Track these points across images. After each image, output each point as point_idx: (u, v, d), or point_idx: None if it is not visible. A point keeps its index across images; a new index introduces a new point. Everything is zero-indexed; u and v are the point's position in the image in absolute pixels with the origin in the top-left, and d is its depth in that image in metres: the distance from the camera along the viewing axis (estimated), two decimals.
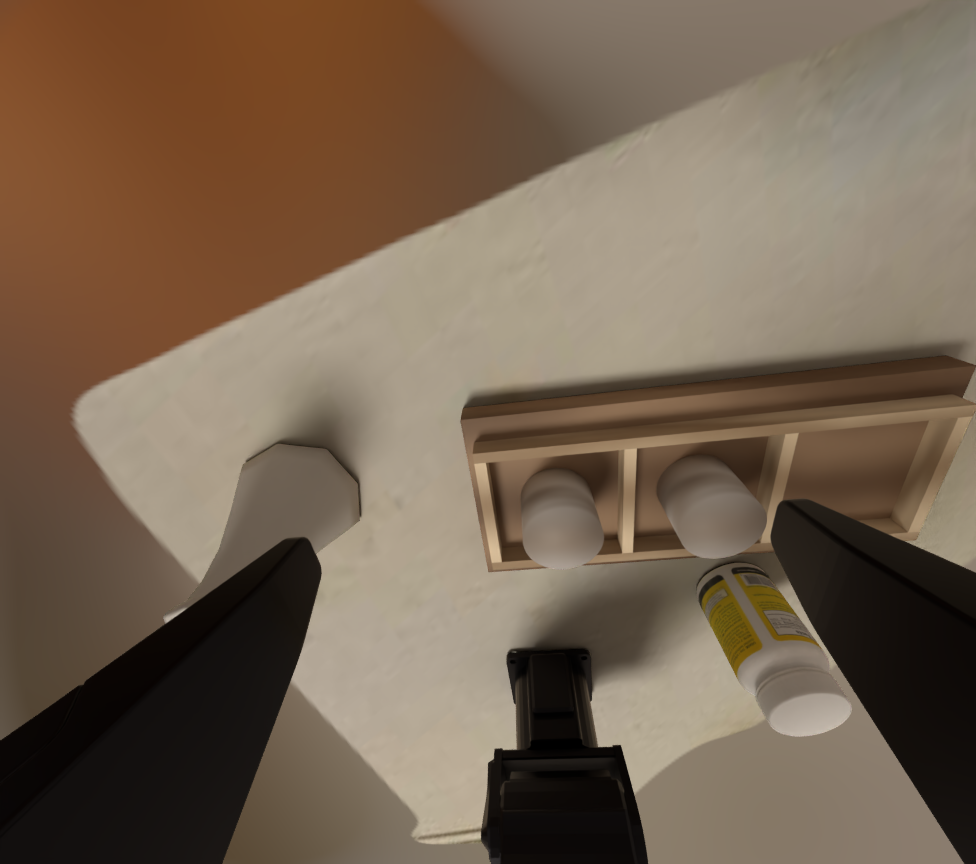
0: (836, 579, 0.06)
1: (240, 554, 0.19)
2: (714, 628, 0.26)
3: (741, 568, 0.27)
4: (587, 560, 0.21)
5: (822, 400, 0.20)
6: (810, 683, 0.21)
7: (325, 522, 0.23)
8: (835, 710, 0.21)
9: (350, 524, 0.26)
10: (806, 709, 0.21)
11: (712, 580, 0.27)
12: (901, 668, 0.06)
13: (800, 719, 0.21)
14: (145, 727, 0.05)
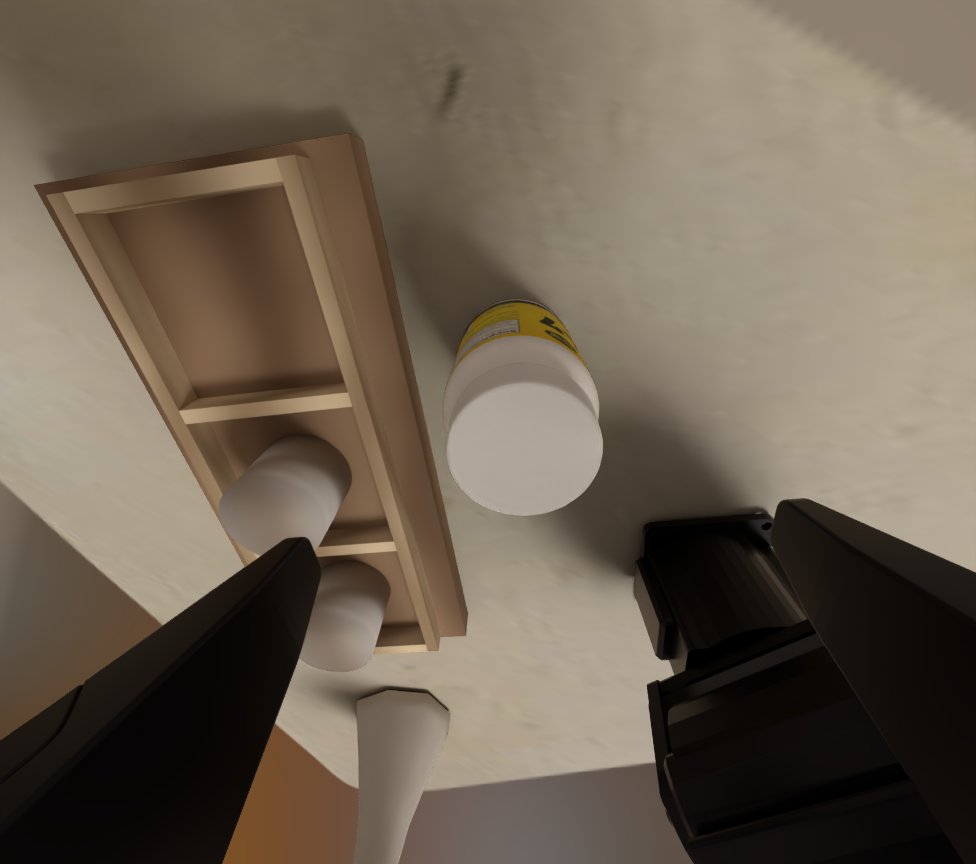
0: (836, 579, 0.06)
1: None
2: None
3: None
4: (354, 628, 0.19)
5: None
6: None
7: (389, 742, 0.28)
8: (502, 417, 0.10)
9: (420, 708, 0.29)
10: (500, 467, 0.11)
11: None
12: (901, 668, 0.06)
13: (537, 467, 0.11)
14: (145, 727, 0.05)
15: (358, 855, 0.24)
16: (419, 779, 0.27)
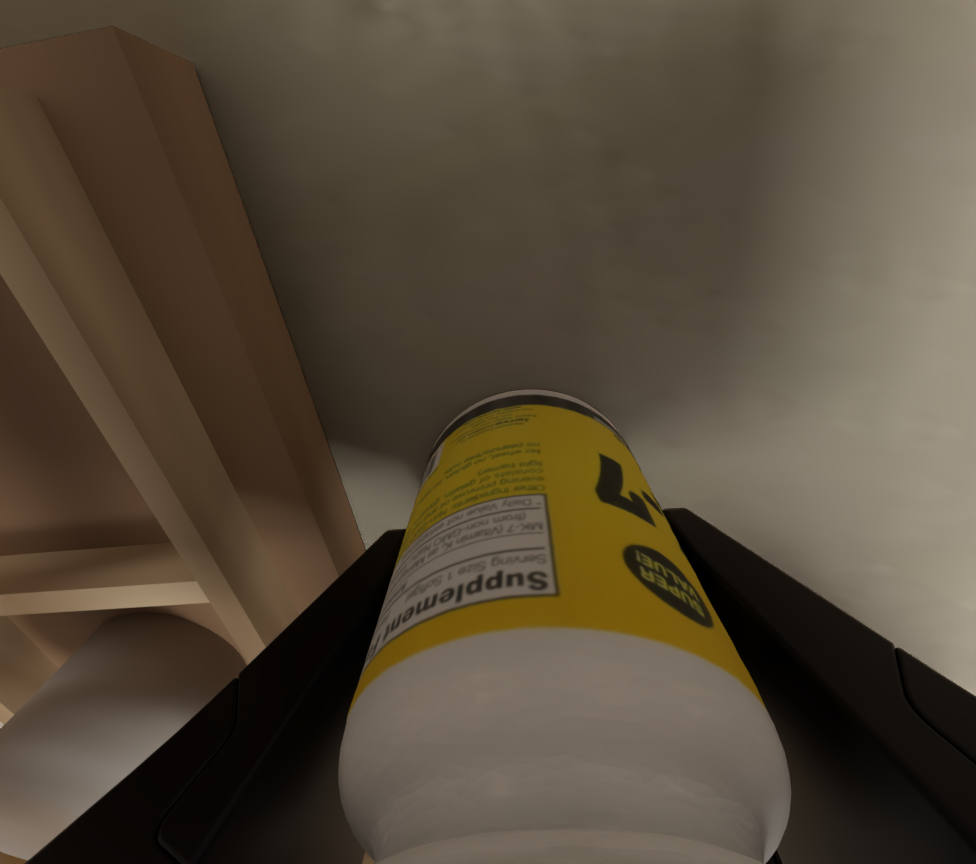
0: None
1: None
2: None
3: None
4: None
5: None
6: None
7: None
8: None
9: None
10: None
11: None
12: None
13: None
14: (307, 721, 0.05)
15: None
16: None
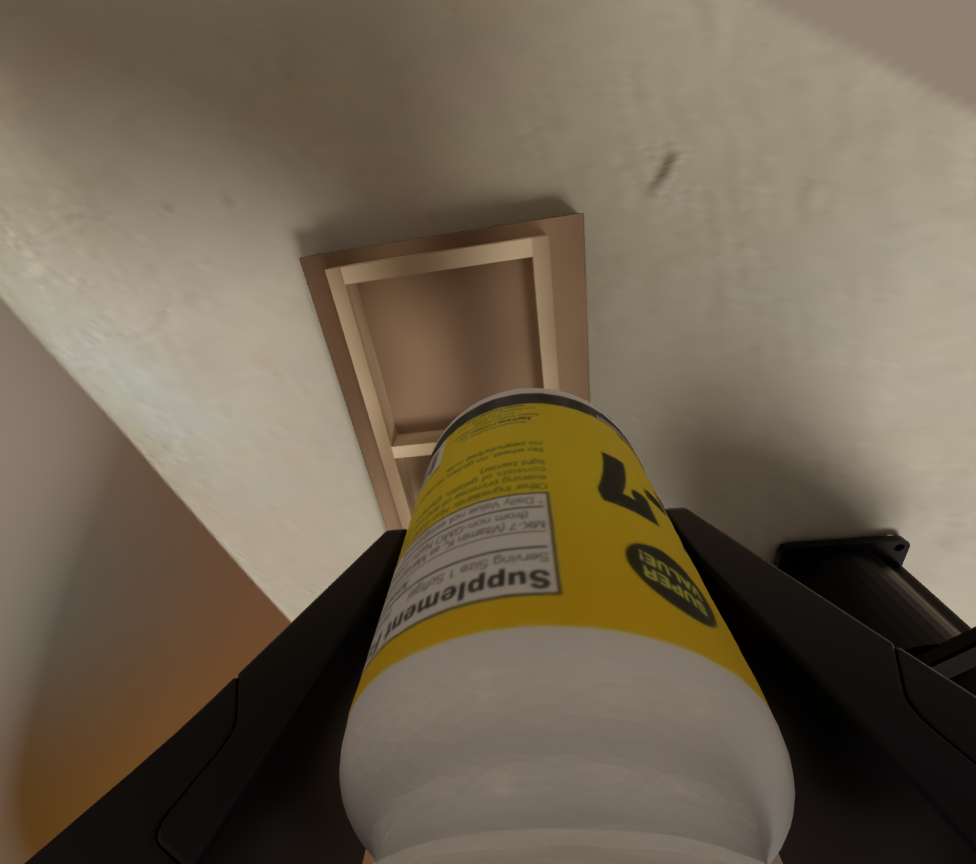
0: None
1: None
2: None
3: None
4: None
5: None
6: None
7: None
8: None
9: None
10: None
11: None
12: None
13: None
14: (306, 721, 0.05)
15: None
16: None
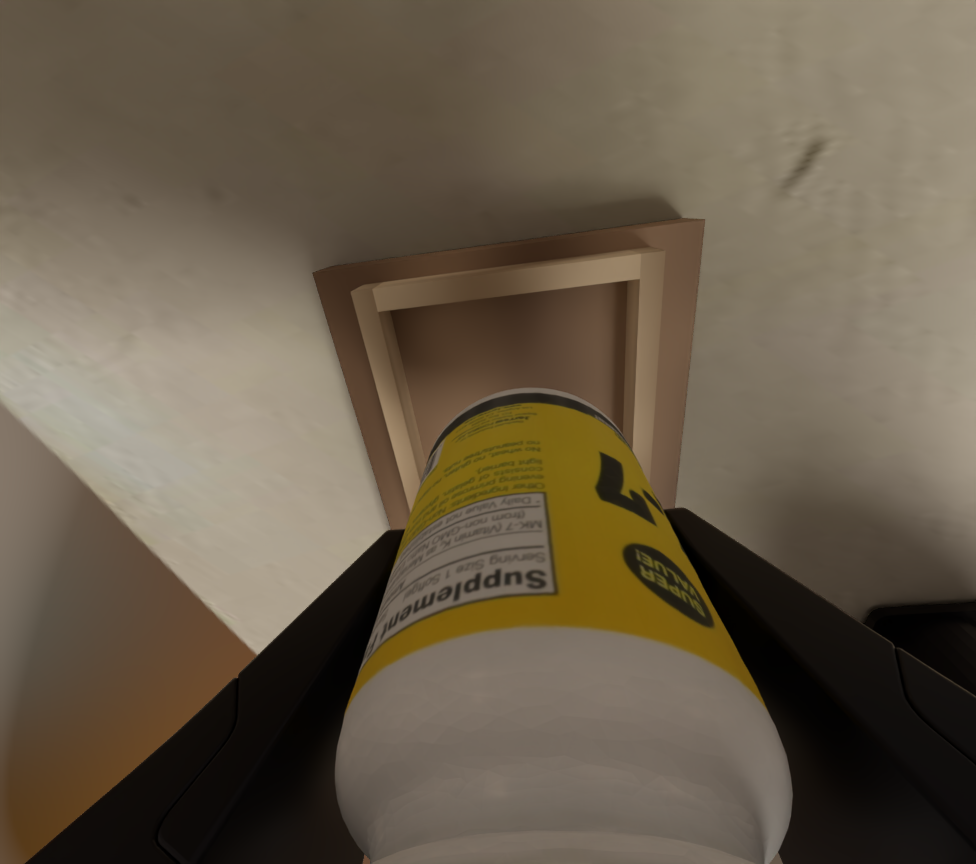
0: None
1: None
2: None
3: None
4: None
5: None
6: None
7: None
8: None
9: None
10: None
11: None
12: None
13: None
14: (307, 722, 0.05)
15: None
16: None
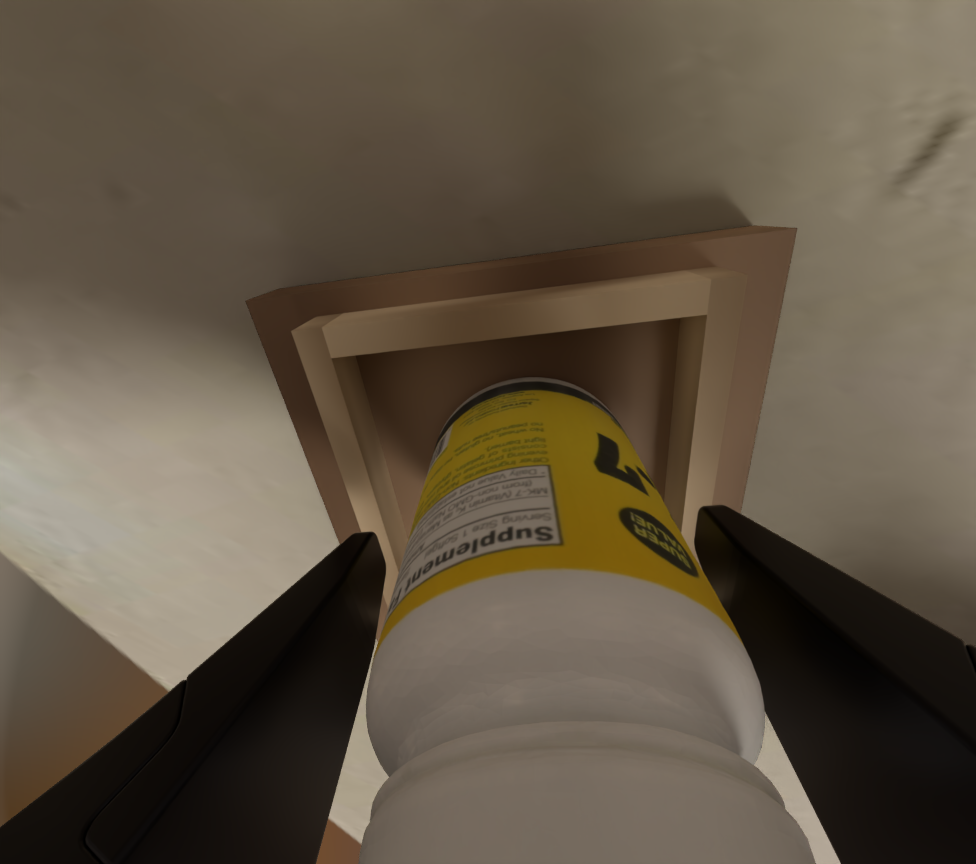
0: (739, 585, 0.06)
1: None
2: None
3: None
4: None
5: None
6: None
7: None
8: None
9: None
10: None
11: None
12: (791, 673, 0.06)
13: None
14: (252, 724, 0.05)
15: None
16: None
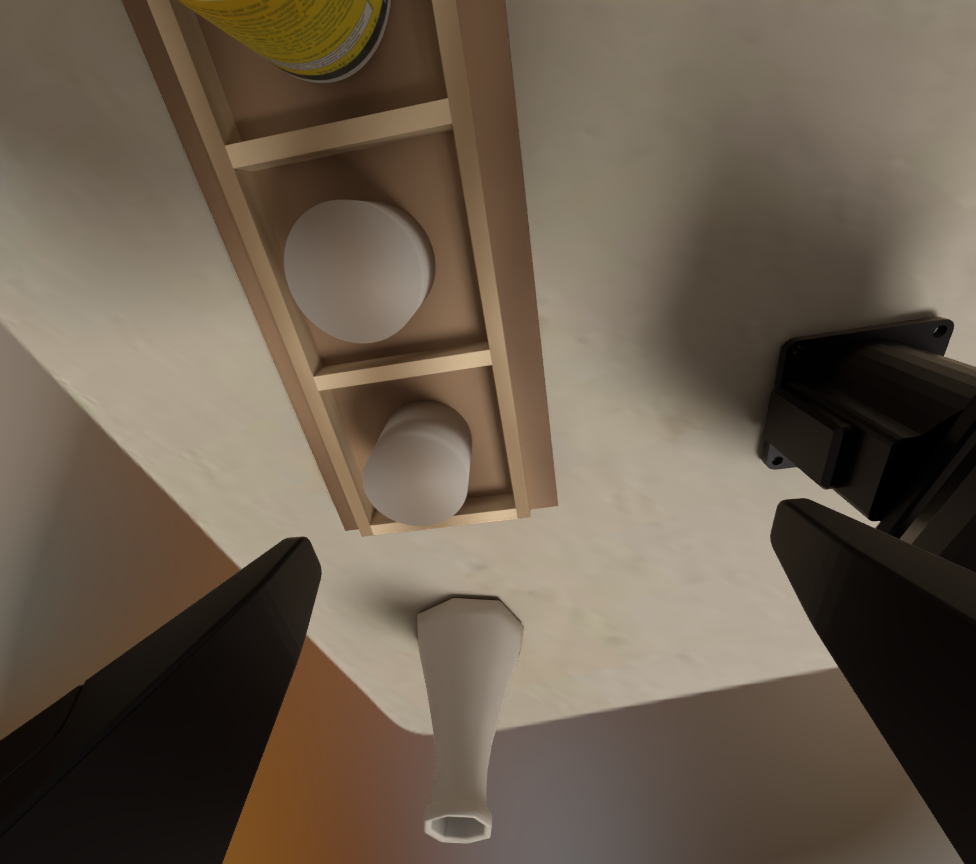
0: (836, 579, 0.06)
1: None
2: (301, 50, 0.10)
3: None
4: (447, 454, 0.15)
5: None
6: None
7: (462, 651, 0.24)
8: None
9: (492, 615, 0.25)
10: None
11: None
12: (902, 669, 0.06)
13: None
14: (145, 728, 0.05)
15: (439, 769, 0.20)
16: (499, 691, 0.23)
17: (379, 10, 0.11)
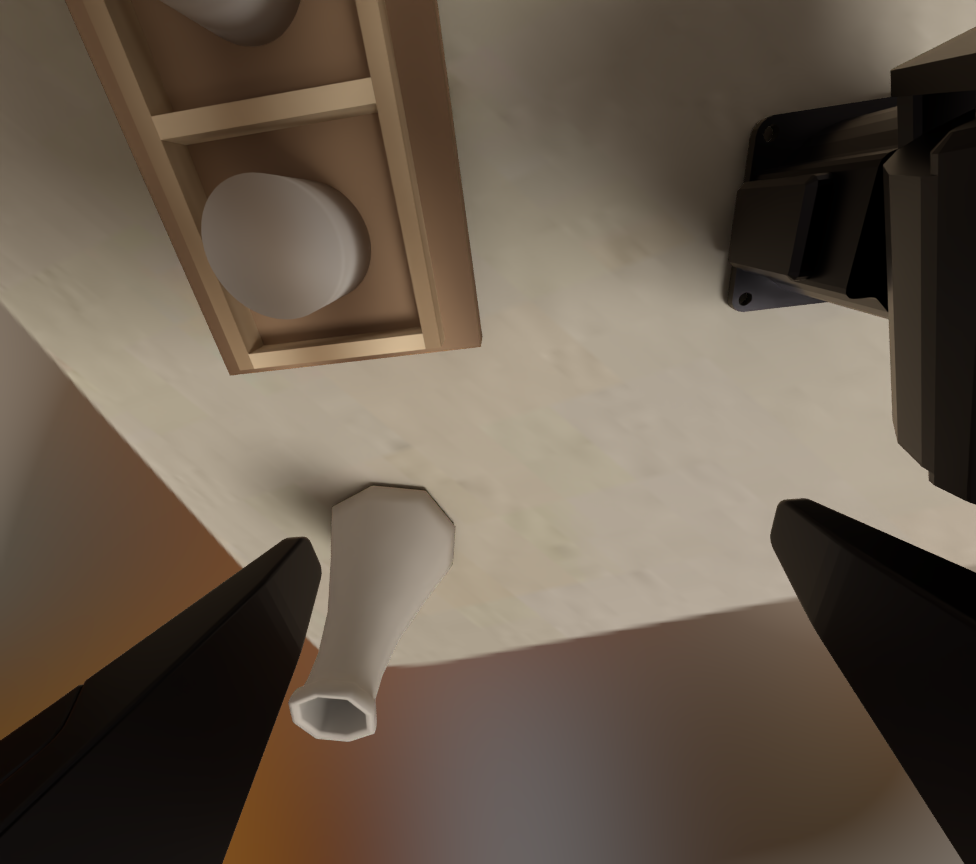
0: (836, 579, 0.06)
1: None
2: None
3: None
4: (305, 199, 0.12)
5: None
6: None
7: (373, 537, 0.20)
8: None
9: (415, 504, 0.22)
10: None
11: None
12: (902, 668, 0.06)
13: None
14: (145, 728, 0.05)
15: (322, 654, 0.17)
16: (413, 583, 0.20)
17: None
